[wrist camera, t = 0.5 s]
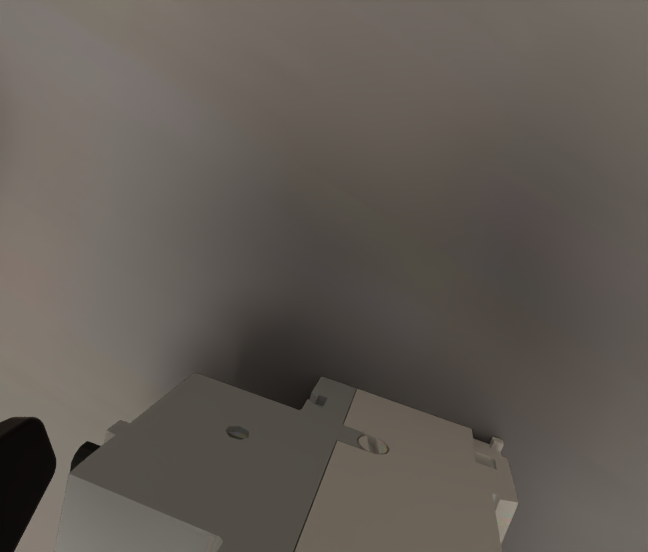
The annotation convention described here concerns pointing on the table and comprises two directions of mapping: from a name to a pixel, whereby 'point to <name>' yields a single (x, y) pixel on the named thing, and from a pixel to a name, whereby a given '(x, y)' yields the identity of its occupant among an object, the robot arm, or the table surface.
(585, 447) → the table surface
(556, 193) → the table surface
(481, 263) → the table surface
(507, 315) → the table surface
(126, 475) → the circuit breaker
